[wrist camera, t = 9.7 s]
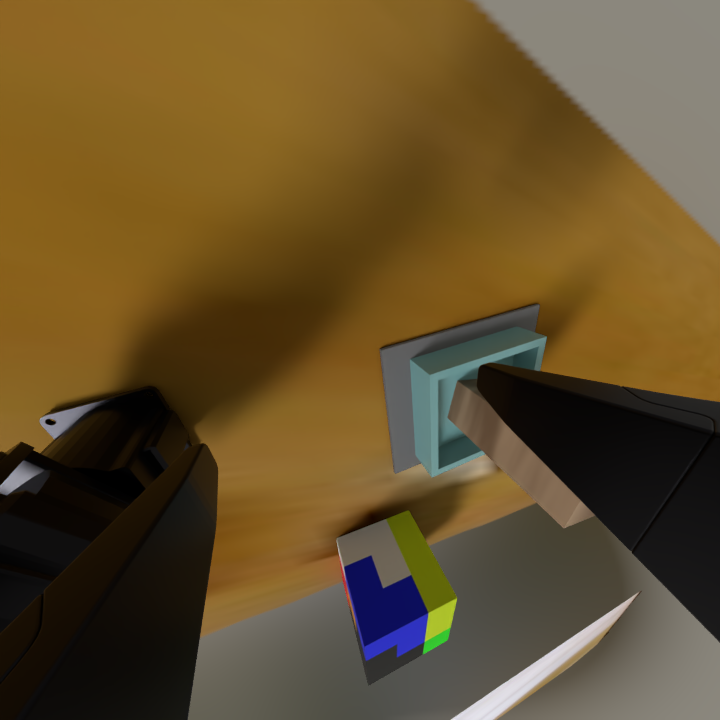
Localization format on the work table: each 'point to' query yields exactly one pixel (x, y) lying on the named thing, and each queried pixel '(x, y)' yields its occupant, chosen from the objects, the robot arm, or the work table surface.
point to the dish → (437, 384)
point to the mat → (400, 354)
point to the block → (513, 455)
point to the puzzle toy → (394, 594)
